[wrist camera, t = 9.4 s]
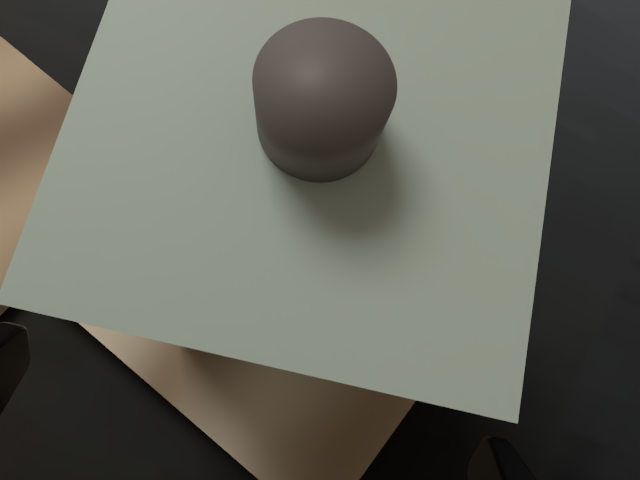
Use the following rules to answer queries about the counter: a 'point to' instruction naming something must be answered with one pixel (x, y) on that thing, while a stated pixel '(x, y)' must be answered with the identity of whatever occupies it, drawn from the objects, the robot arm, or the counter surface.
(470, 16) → the knobbed sage box
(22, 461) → the counter surface
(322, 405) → the birch board
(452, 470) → the counter surface
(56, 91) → the cork mat
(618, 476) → the counter surface
